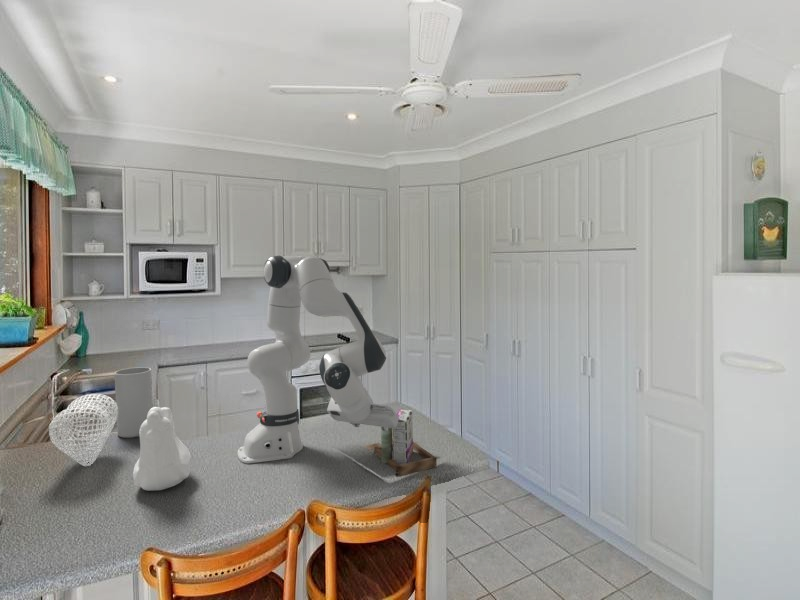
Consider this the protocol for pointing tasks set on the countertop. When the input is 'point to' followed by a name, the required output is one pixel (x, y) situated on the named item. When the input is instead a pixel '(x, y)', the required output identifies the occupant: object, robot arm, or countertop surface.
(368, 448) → the broken slat
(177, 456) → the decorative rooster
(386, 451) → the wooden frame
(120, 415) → the cylinder vase
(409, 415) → the candy bar box
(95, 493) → the countertop surface
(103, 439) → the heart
